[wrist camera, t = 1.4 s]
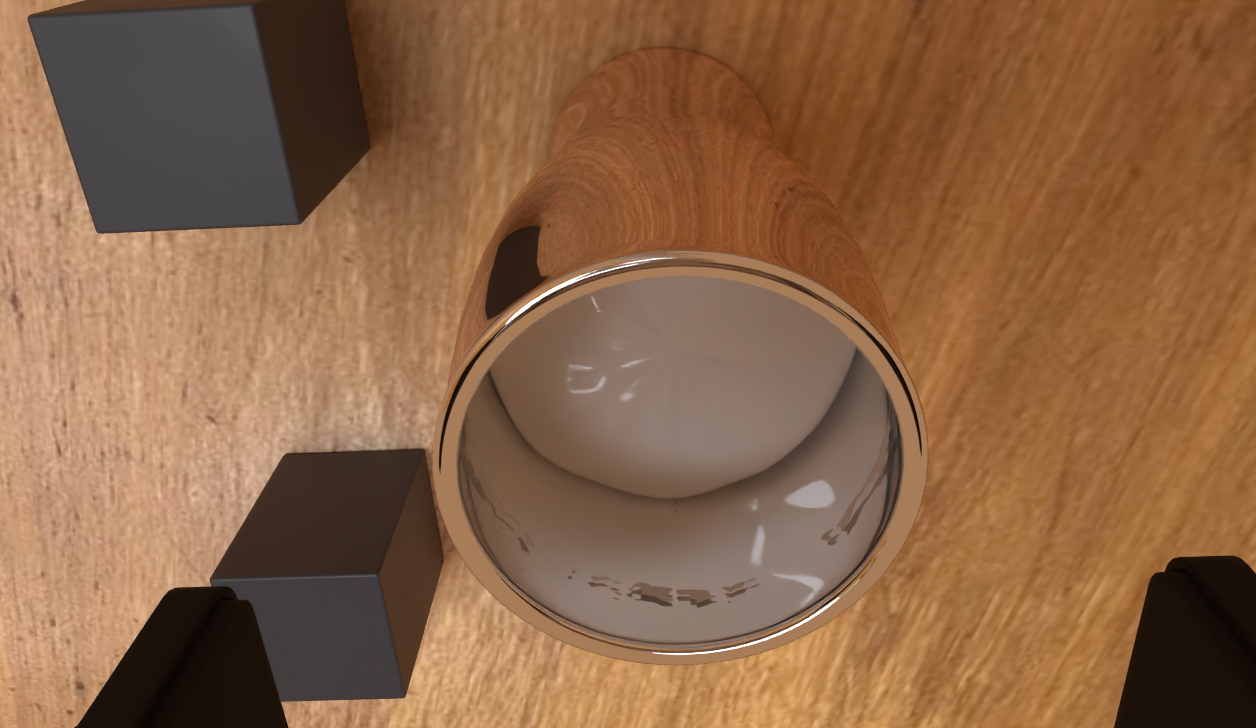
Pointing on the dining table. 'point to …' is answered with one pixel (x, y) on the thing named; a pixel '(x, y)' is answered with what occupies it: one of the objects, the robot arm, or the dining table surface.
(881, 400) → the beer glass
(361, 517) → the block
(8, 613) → the dining table surface
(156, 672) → the robot arm
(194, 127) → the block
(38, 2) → the dining table surface
